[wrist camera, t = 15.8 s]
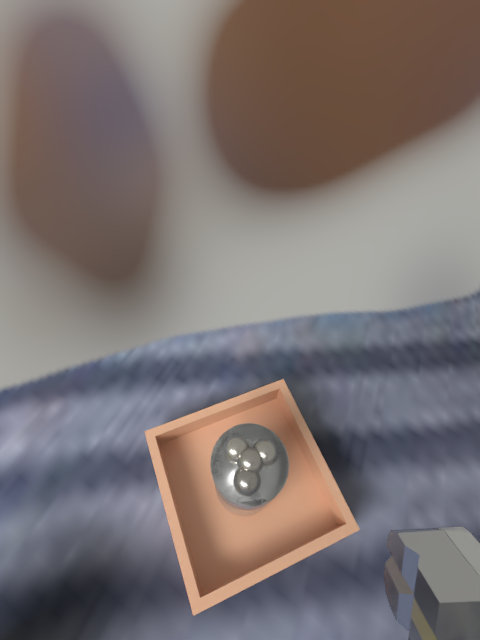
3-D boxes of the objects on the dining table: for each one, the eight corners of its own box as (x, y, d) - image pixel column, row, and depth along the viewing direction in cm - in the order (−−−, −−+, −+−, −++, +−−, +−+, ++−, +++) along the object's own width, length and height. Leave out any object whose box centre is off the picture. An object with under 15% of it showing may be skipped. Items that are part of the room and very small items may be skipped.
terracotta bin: (346, 531, 33) (360, 529, 30) (196, 608, 30) (193, 615, 27) (278, 393, 40) (283, 378, 37) (151, 442, 37) (144, 431, 34)
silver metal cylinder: (284, 501, 34) (306, 483, 24) (226, 528, 32) (227, 519, 23) (259, 442, 36) (270, 406, 27) (205, 465, 35) (198, 434, 26)
